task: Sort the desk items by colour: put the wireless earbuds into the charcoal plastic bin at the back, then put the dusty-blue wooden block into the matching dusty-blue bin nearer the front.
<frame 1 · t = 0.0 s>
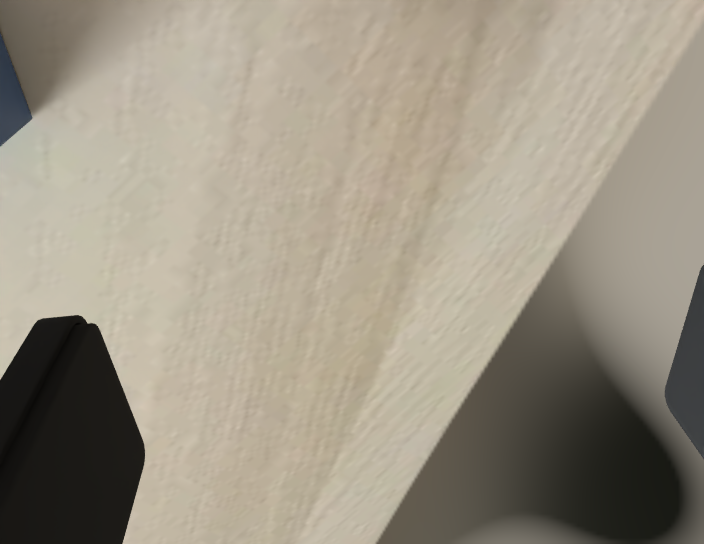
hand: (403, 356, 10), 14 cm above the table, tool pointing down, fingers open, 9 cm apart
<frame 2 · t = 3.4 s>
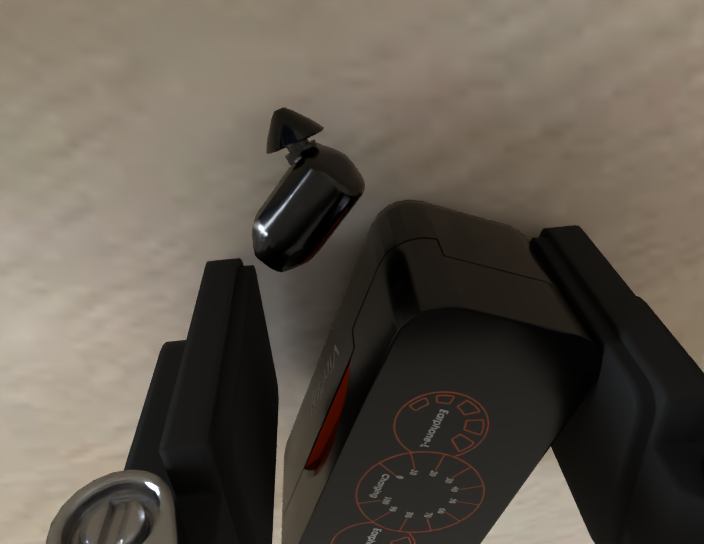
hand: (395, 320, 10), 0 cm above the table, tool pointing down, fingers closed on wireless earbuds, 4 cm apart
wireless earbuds: (367, 300, 11), on the table, touching gripper
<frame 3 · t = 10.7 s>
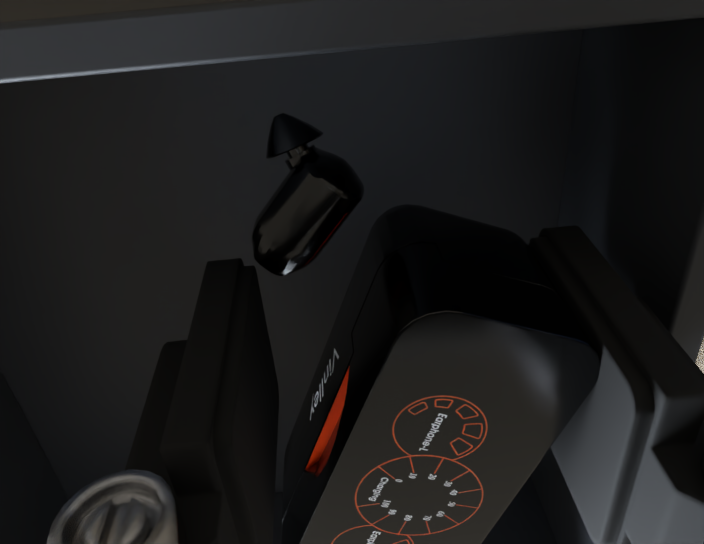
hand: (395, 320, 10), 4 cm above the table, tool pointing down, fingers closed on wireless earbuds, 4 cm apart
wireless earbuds: (366, 303, 11), point 3 cm above the table, touching gripper
charcoal bin: (270, 296, 14), on the table
when the fingers open (4 cm above the table, at t = 14.3 s): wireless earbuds drops 3 cm, resting on charcoal bin.
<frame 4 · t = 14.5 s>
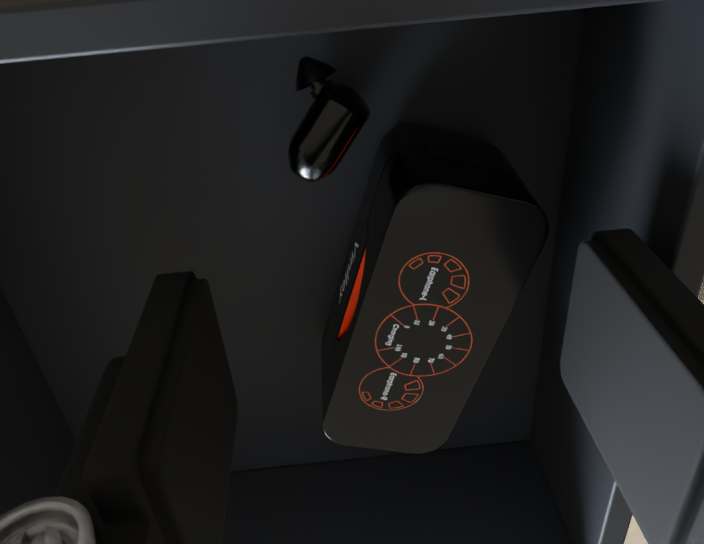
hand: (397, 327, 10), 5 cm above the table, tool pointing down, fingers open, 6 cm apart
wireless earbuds: (379, 213, 14), resting on charcoal bin
charcoal bin: (285, 273, 15), on the table
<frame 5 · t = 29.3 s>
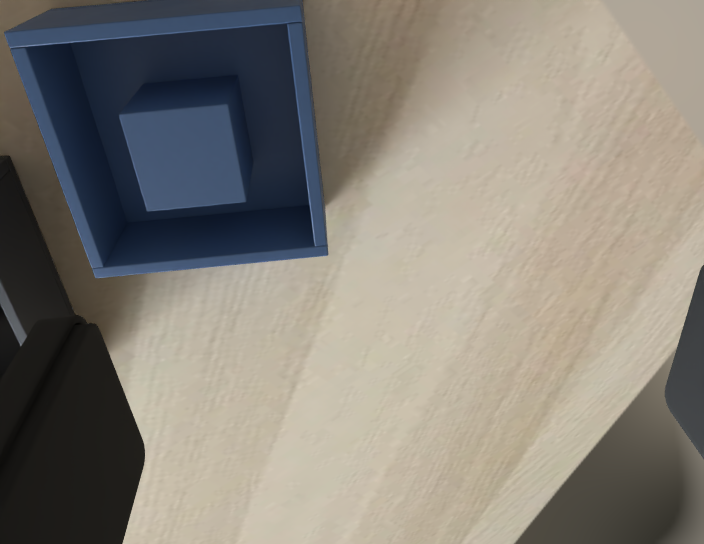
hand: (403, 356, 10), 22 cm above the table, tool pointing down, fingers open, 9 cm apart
blue block: (200, 125, 29), resting on blue bin
blue bin: (202, 119, 30), on the table
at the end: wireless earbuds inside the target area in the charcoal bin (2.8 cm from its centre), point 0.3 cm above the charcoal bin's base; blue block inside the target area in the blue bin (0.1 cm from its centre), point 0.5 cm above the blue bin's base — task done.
